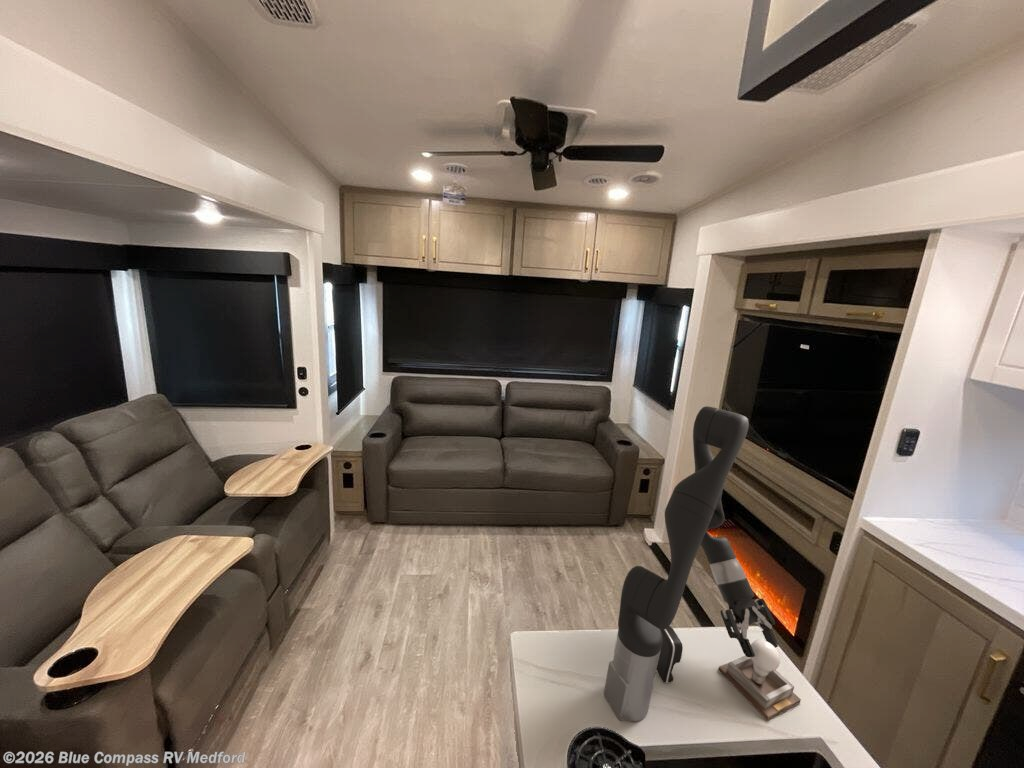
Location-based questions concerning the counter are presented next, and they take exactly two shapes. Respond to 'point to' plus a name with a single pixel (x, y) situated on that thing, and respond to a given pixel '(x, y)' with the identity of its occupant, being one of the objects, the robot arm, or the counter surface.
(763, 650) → the lightbulb
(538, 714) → the counter surface
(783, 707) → the socket board
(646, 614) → the robot arm
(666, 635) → the battery charger
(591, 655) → the counter surface
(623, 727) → the counter surface
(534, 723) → the counter surface
